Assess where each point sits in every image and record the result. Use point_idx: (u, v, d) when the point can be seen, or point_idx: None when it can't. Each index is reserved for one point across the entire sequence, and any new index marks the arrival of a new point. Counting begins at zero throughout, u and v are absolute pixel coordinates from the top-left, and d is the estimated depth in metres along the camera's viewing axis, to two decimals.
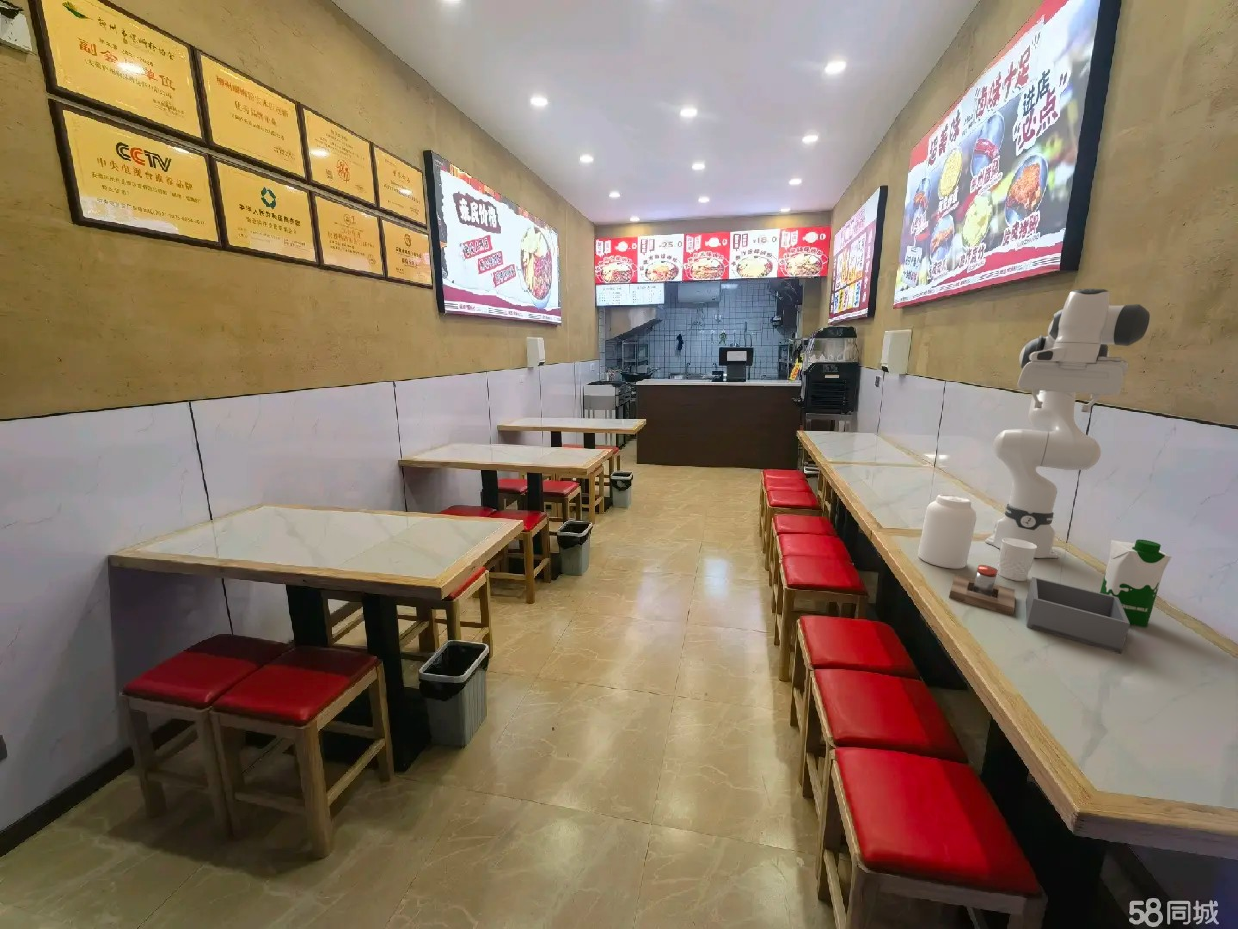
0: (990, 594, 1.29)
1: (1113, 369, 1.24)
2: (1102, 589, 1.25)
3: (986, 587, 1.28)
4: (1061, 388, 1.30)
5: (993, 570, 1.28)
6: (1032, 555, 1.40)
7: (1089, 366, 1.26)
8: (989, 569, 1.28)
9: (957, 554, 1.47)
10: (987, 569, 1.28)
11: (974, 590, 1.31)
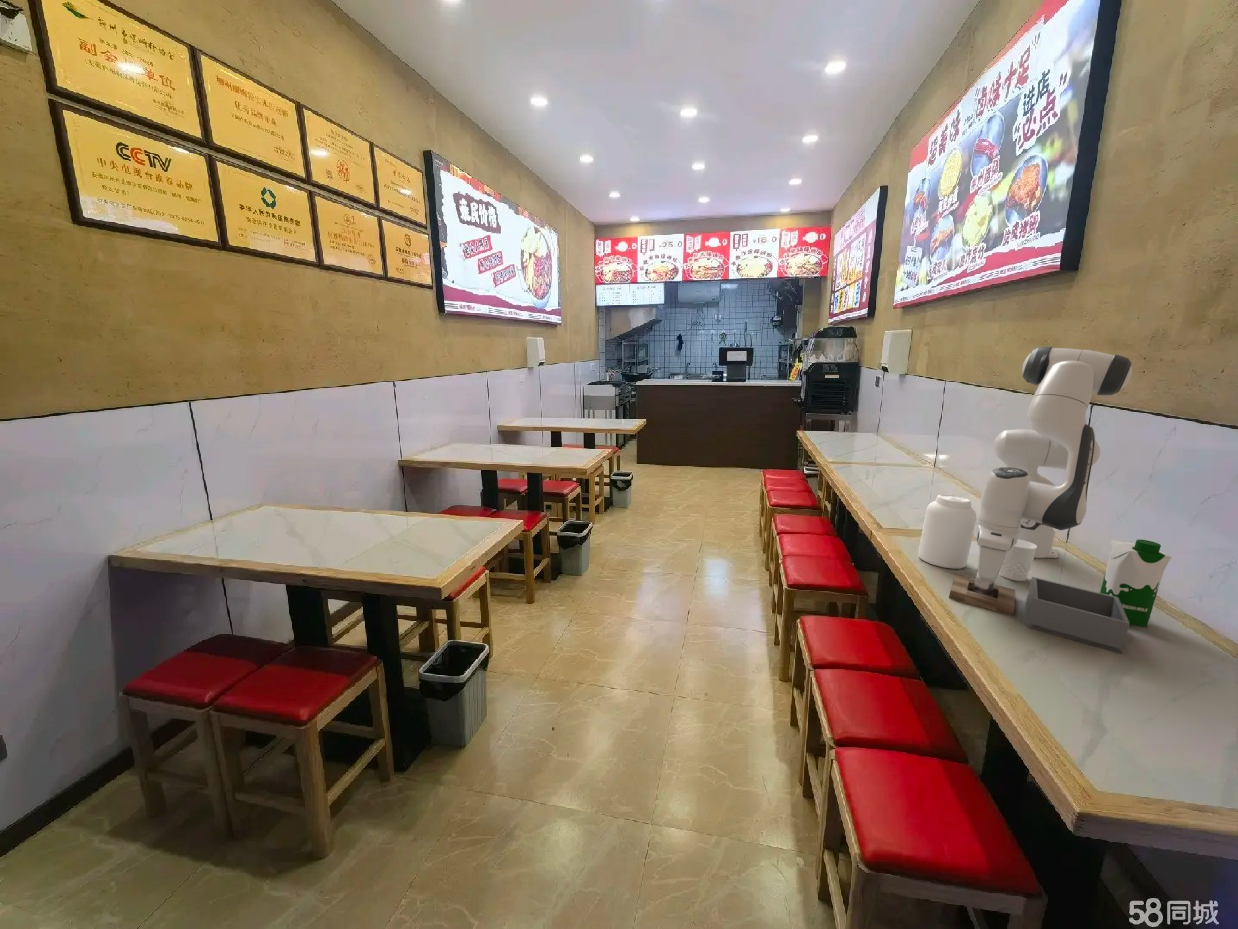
0: (990, 594, 1.29)
1: None
2: (1102, 589, 1.25)
3: None
4: None
5: None
6: (1032, 555, 1.40)
7: None
8: None
9: (957, 554, 1.47)
10: None
11: (974, 590, 1.31)
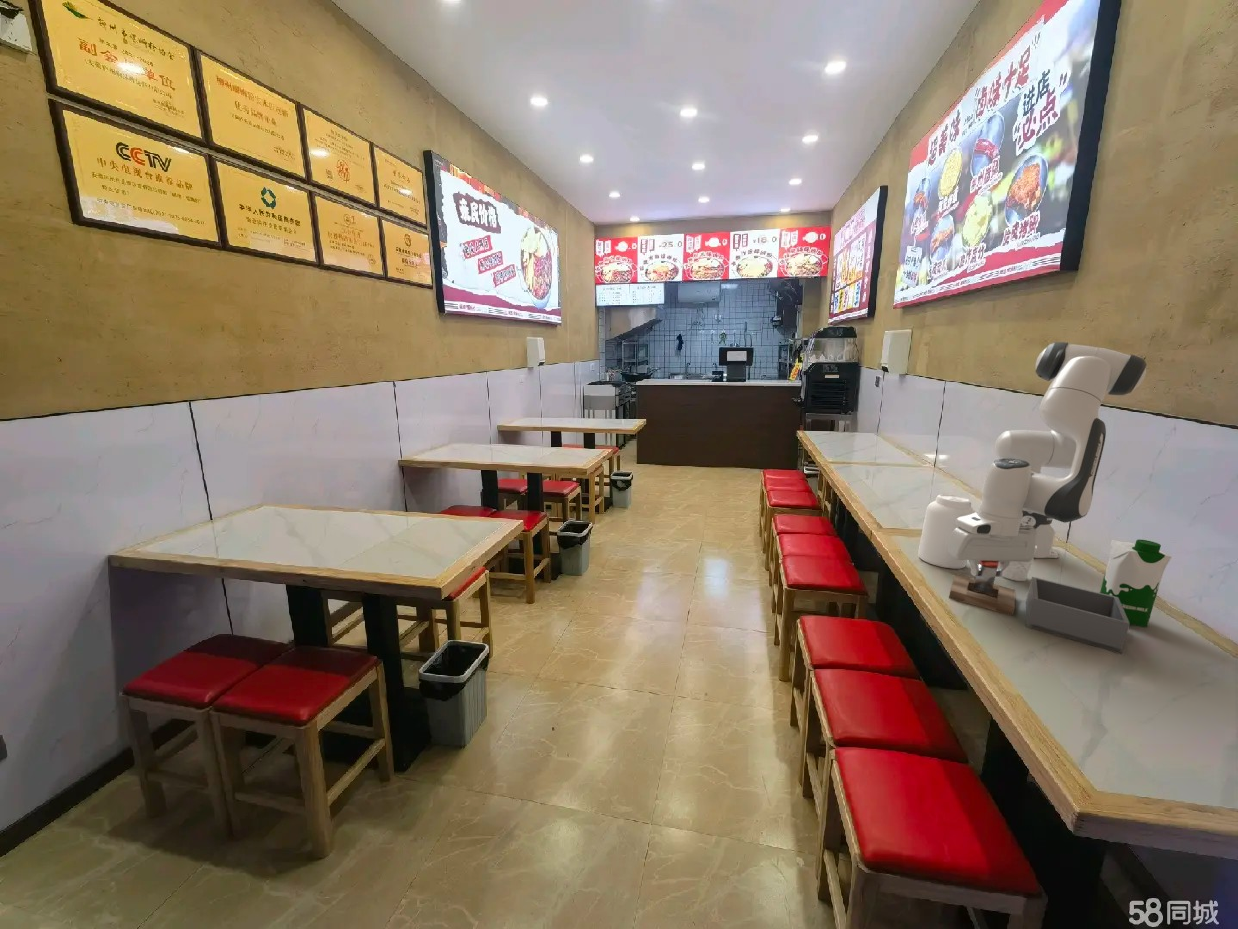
0: (984, 585, 1.29)
1: (1030, 539, 1.26)
2: (1102, 589, 1.25)
3: (980, 576, 1.29)
4: (991, 558, 1.27)
5: (990, 561, 1.28)
6: None
7: (1013, 536, 1.26)
8: None
9: None
10: None
11: None
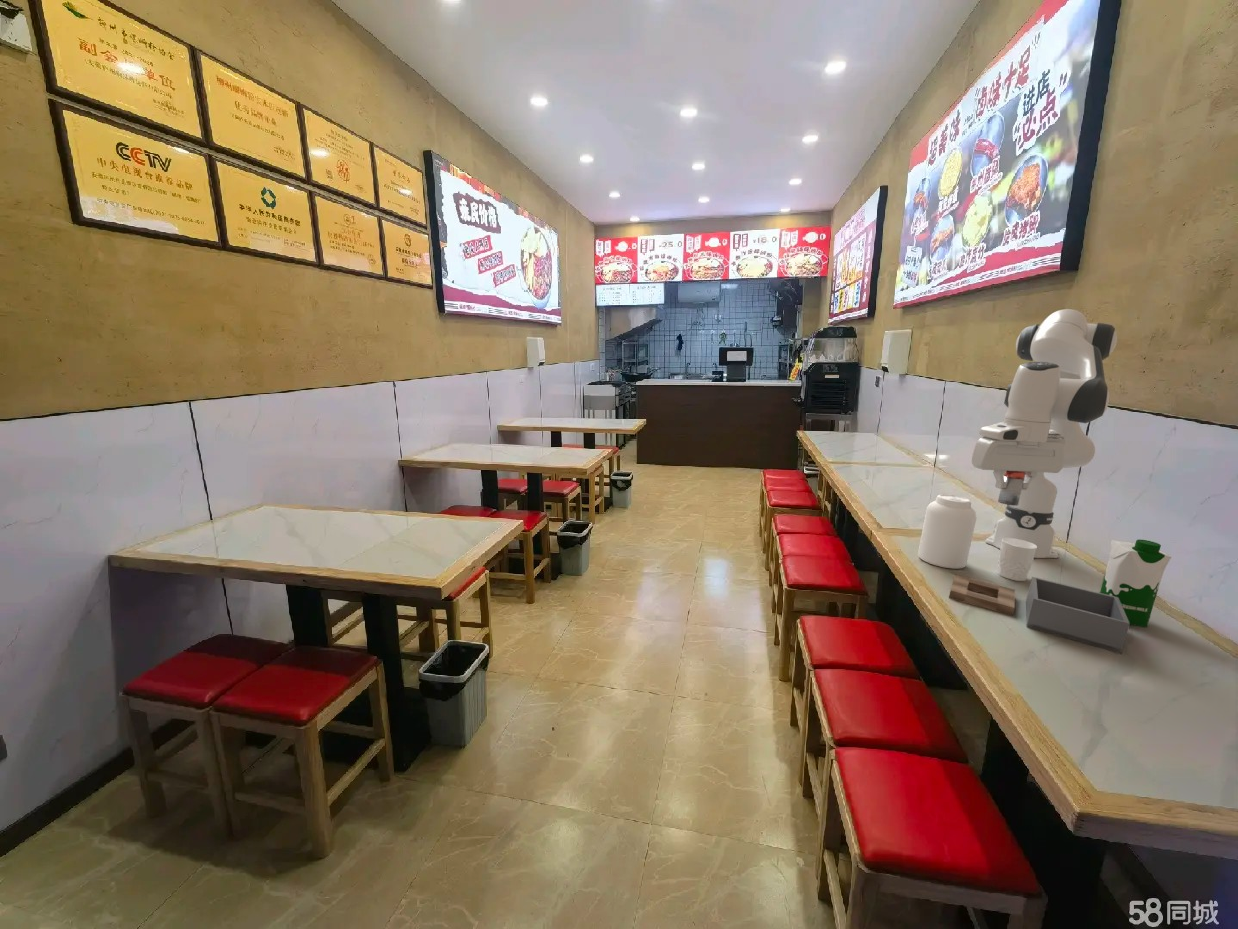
0: (1010, 497, 1.23)
1: (1058, 447, 1.20)
2: (1102, 589, 1.25)
3: None
4: (1018, 468, 1.21)
5: (1016, 472, 1.22)
6: (1032, 555, 1.40)
7: (1041, 444, 1.20)
8: (1013, 471, 1.22)
9: (957, 553, 1.47)
10: None
11: None
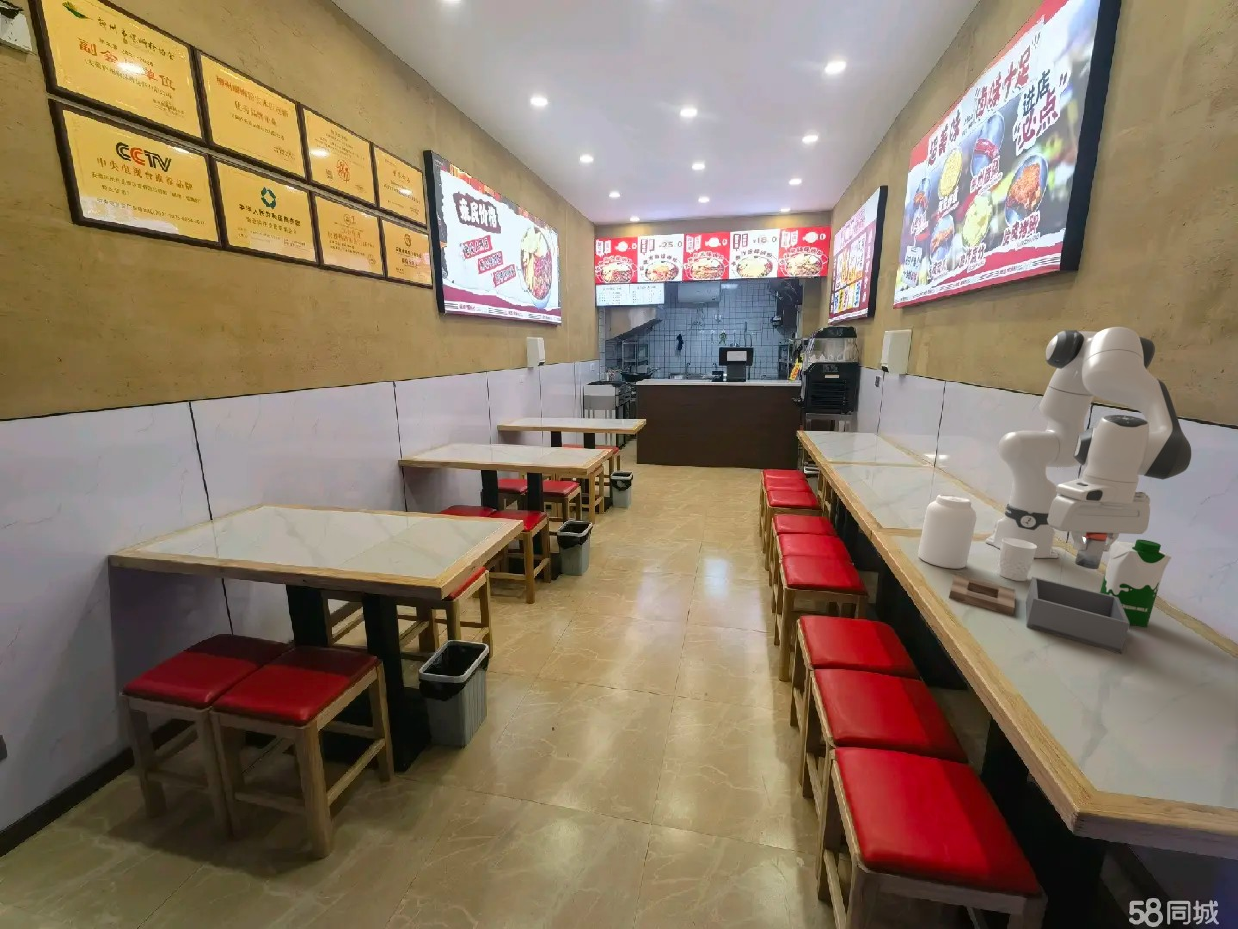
0: (1091, 560, 1.13)
1: (1144, 507, 1.11)
2: (1102, 589, 1.25)
3: (1085, 550, 1.14)
4: (1100, 529, 1.11)
5: (1097, 533, 1.12)
6: (1032, 555, 1.40)
7: (1125, 504, 1.10)
8: (1094, 532, 1.13)
9: (957, 554, 1.47)
10: None
11: None
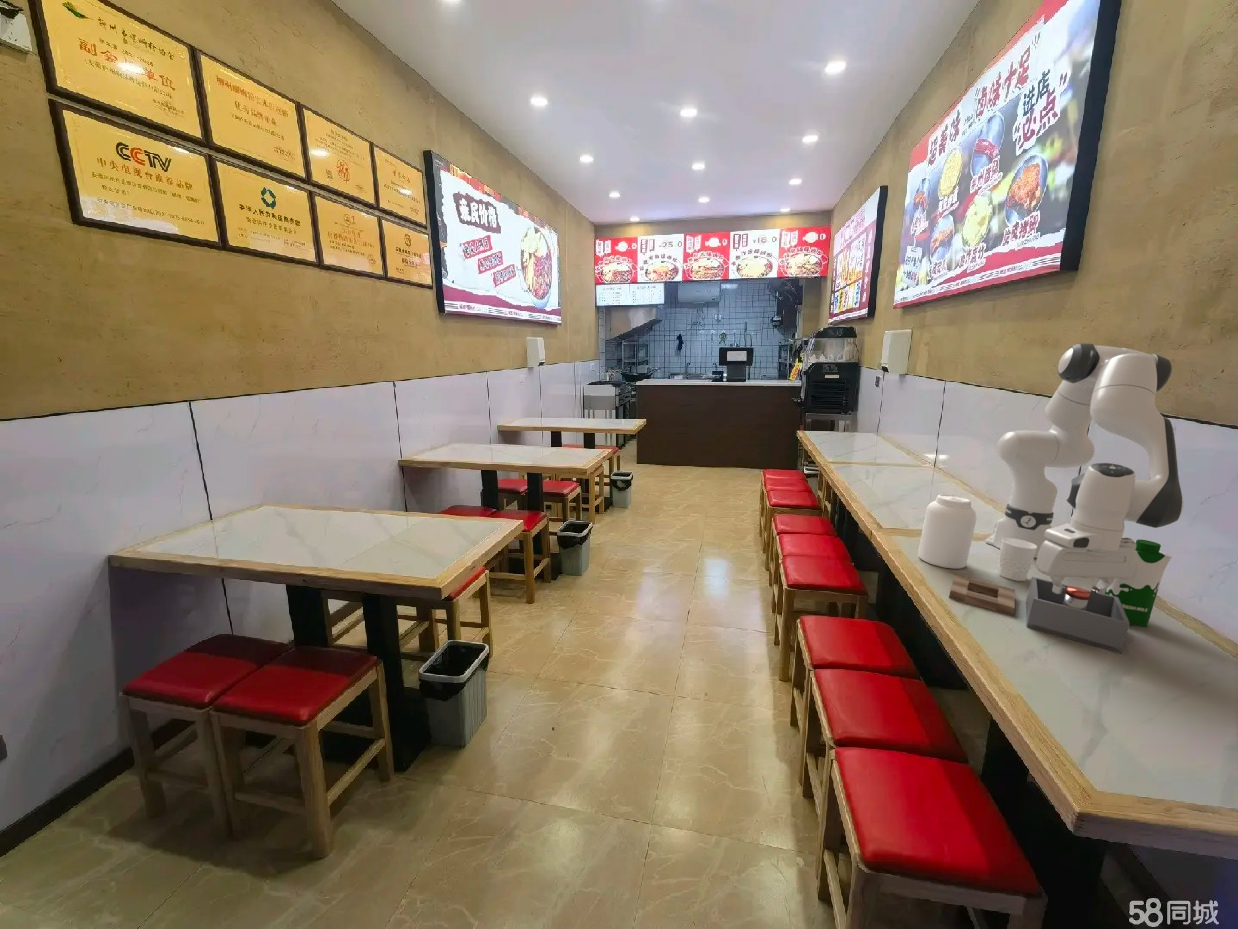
0: None
1: (1130, 553, 1.13)
2: None
3: None
4: (1087, 575, 1.14)
5: (1080, 592, 1.16)
6: (1032, 555, 1.40)
7: (1111, 550, 1.13)
8: (1077, 590, 1.16)
9: (957, 554, 1.47)
10: (1074, 589, 1.17)
11: None
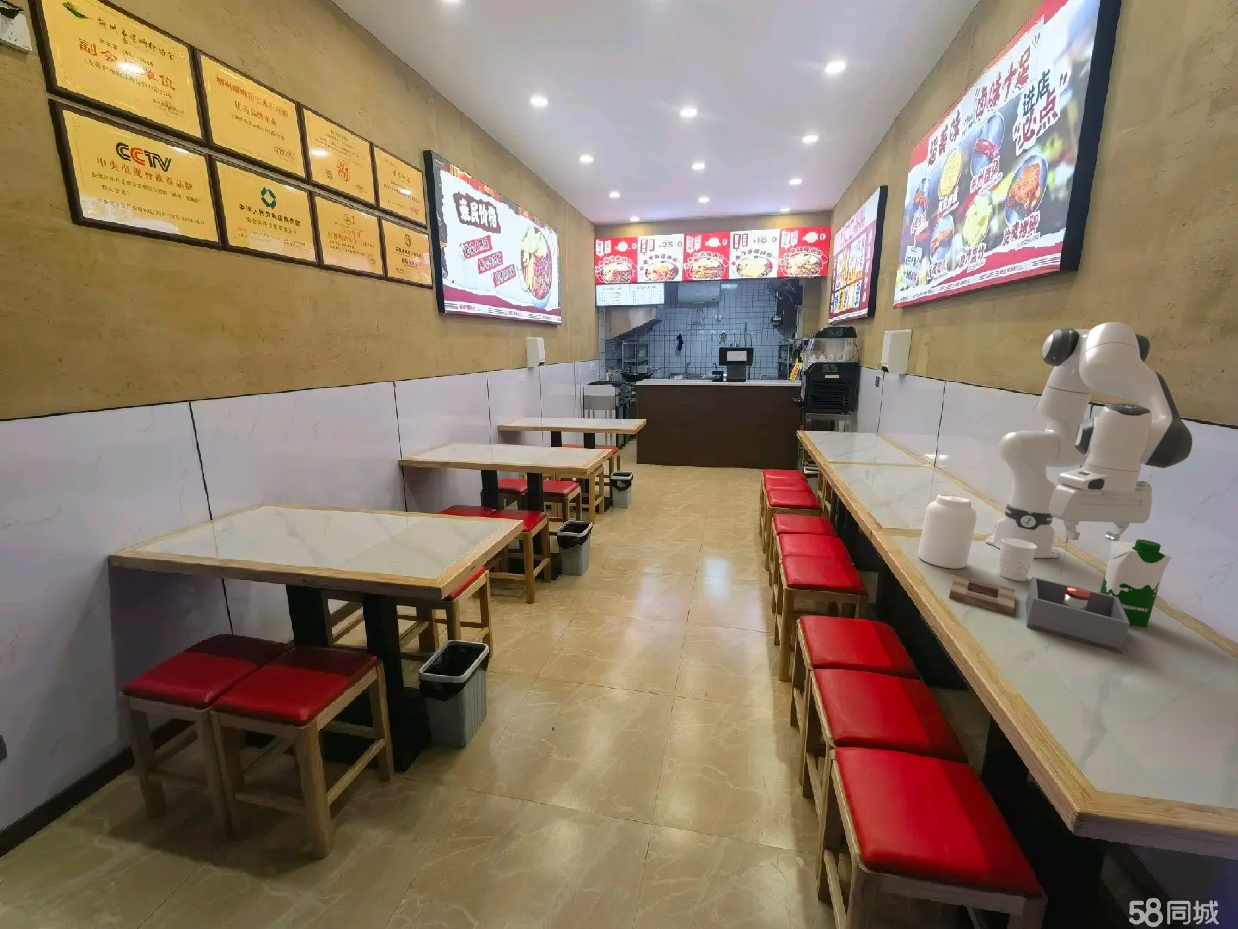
0: None
1: (1146, 497, 1.10)
2: (1102, 589, 1.25)
3: None
4: (1101, 519, 1.11)
5: (1080, 592, 1.16)
6: (1032, 555, 1.40)
7: (1127, 493, 1.10)
8: (1077, 590, 1.16)
9: (957, 554, 1.47)
10: (1074, 589, 1.17)
11: None
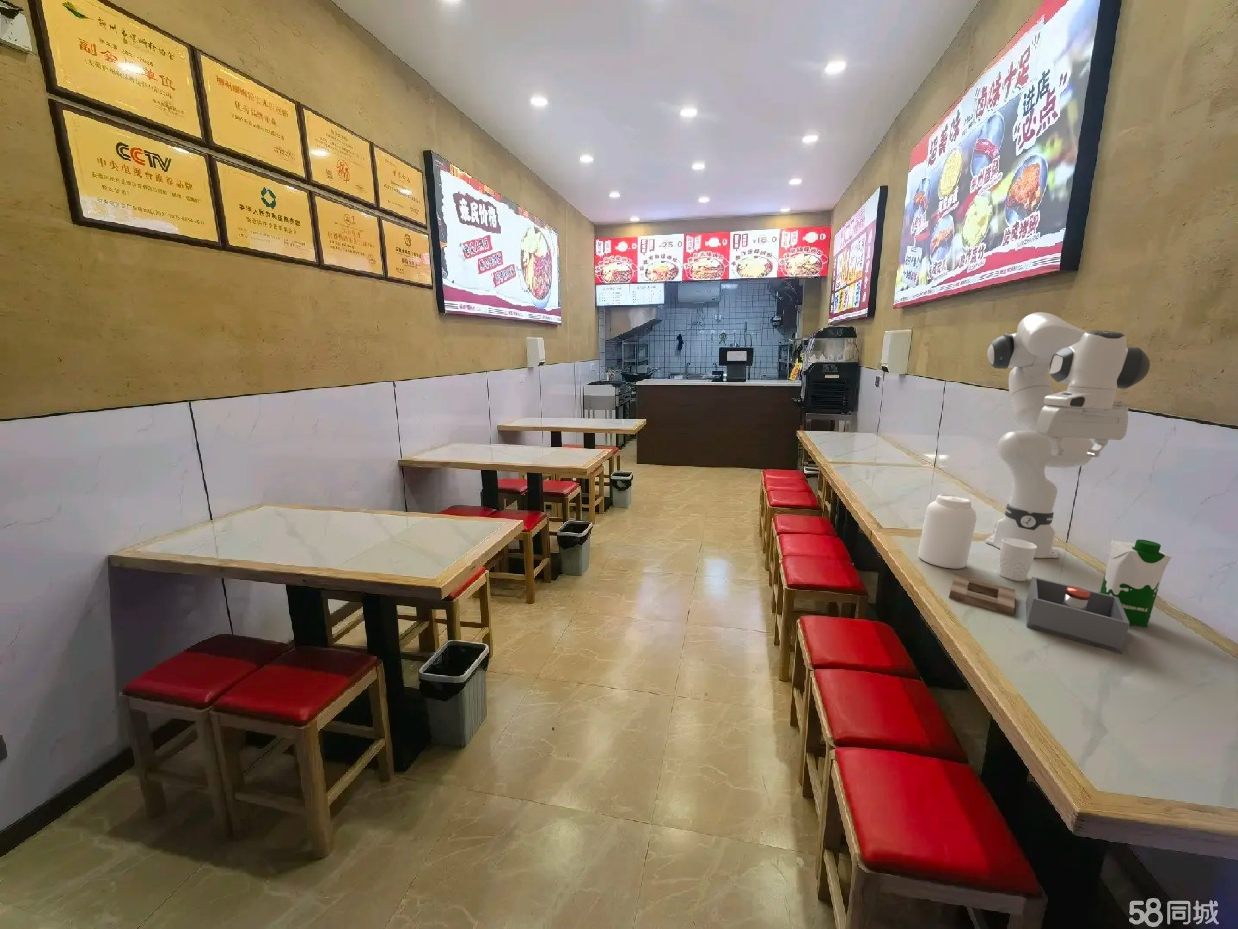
0: None
1: (1122, 414, 1.23)
2: (1102, 589, 1.25)
3: None
4: (1083, 435, 1.24)
5: (1080, 592, 1.16)
6: (1032, 555, 1.40)
7: (1105, 412, 1.23)
8: (1077, 590, 1.16)
9: (957, 554, 1.47)
10: (1074, 589, 1.17)
11: None
